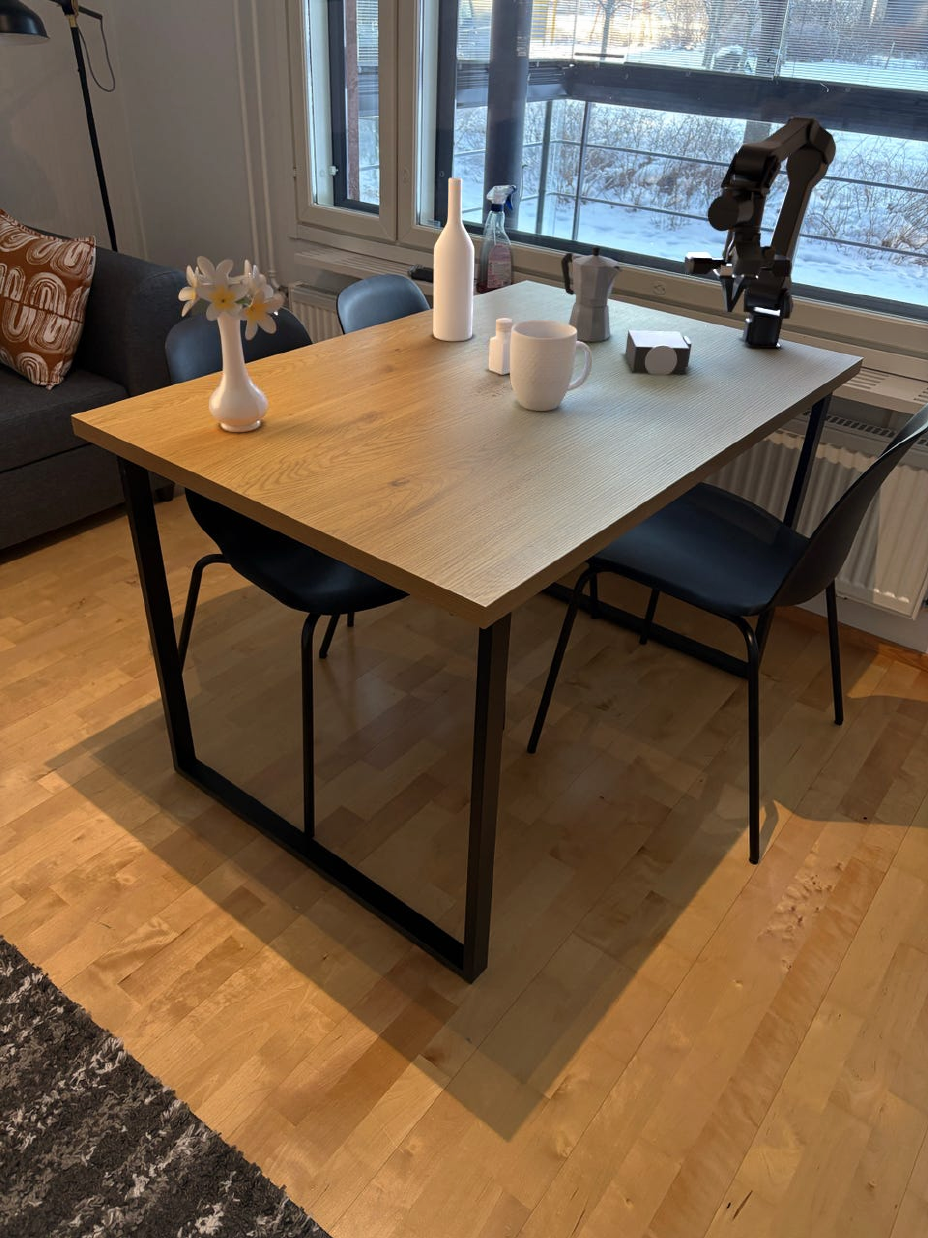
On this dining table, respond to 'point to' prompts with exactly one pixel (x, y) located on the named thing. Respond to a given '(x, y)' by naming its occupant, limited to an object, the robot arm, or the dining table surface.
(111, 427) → the dining table surface
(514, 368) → the mug
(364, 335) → the dining table surface
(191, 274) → the flower vase
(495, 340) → the pepper shaker
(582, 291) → the coffeepot
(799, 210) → the robot arm
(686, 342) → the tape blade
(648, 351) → the tape case
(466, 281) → the bottle
